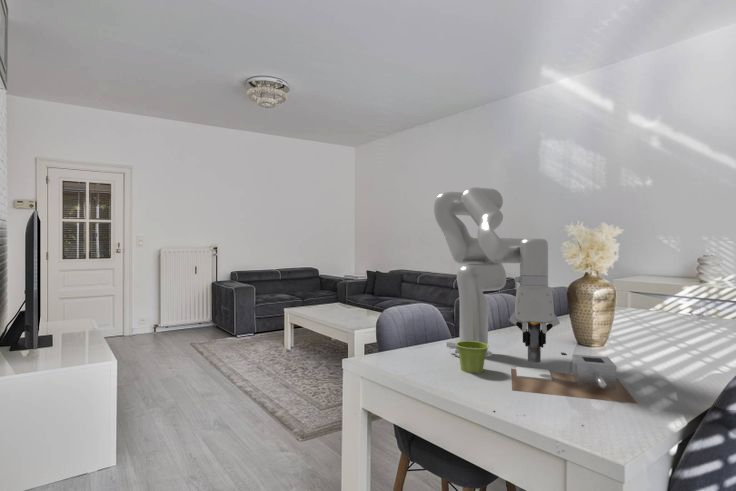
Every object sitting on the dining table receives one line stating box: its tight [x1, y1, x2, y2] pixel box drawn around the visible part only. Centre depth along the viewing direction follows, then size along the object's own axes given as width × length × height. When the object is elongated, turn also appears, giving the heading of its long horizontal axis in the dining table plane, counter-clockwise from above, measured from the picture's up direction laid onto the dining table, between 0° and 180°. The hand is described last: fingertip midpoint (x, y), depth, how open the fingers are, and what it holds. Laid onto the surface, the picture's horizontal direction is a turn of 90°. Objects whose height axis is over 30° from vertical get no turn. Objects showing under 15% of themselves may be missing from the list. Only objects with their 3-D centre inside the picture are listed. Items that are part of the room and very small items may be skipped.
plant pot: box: [455, 341, 489, 374], centre depth 125 cm, size 9×9×9 cm
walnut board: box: [510, 368, 639, 405], centre depth 113 cm, size 28×20×1 cm
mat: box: [515, 366, 552, 381], centre depth 121 cm, size 9×9×1 cm
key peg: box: [527, 322, 542, 363], centre depth 120 cm, size 3×3×12 cm
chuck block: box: [571, 354, 617, 389], centre depth 111 cm, size 9×17×6 cm, turn 162°
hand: (534, 345), depth 121 cm, fingers closed on key peg, 3 cm apart
